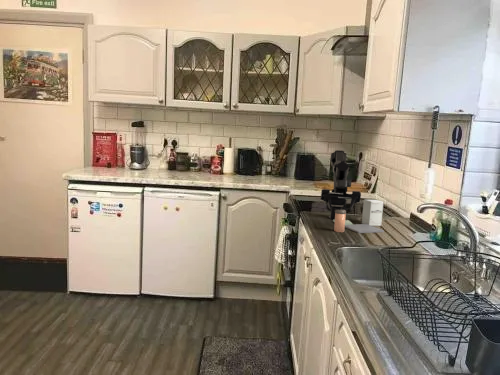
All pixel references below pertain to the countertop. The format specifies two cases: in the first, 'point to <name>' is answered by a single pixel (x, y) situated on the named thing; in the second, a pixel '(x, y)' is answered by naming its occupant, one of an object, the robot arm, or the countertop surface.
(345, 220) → the sage tile
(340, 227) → the terracotta jar
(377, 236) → the countertop surface
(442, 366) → the countertop surface
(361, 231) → the gray board
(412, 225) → the countertop surface
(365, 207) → the supplement box
